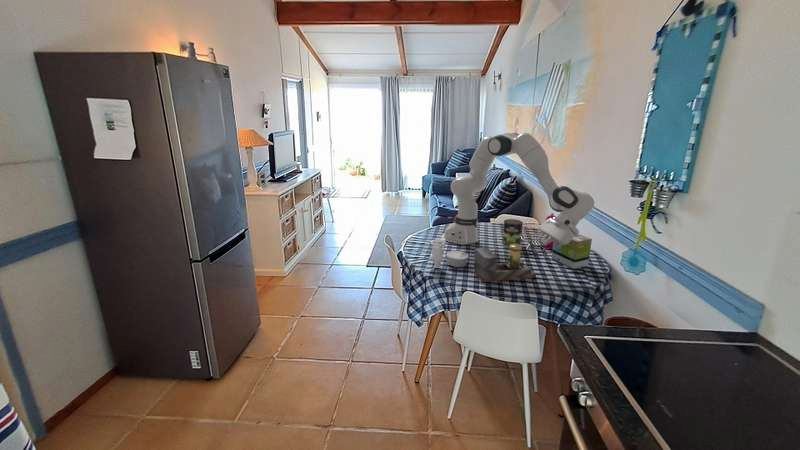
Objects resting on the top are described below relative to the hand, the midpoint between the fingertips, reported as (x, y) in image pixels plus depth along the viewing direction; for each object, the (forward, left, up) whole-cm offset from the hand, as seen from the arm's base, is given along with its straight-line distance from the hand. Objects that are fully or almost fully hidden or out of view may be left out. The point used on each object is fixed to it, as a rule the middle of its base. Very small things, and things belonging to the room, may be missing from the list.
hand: (542, 243), depth 174 cm
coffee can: (-16, +34, -15) cm, 41 cm away
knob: (-12, -7, -12) cm, 18 cm away
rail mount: (-15, -9, -15) cm, 23 cm away
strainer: (-47, -12, -15) cm, 51 cm away
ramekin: (-39, -4, -15) cm, 42 cm away
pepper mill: (+4, +38, -15) cm, 41 cm away
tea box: (+14, +18, -15) cm, 27 cm away
